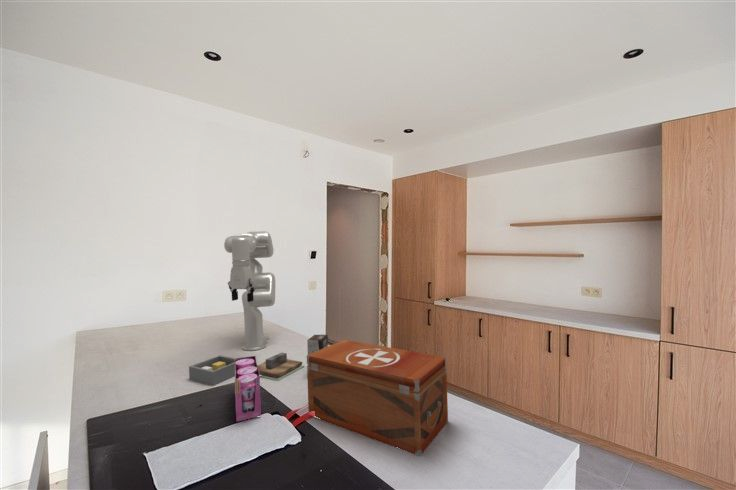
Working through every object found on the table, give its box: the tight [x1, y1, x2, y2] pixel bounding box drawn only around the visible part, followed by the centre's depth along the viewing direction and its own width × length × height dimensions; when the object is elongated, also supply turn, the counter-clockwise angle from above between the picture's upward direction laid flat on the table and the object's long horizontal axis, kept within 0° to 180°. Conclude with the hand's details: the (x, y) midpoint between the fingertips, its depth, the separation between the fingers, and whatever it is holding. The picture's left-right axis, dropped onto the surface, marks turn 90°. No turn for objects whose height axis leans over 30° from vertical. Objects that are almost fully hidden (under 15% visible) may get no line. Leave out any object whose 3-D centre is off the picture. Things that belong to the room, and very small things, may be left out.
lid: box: [257, 352, 303, 377], centre depth 150 cm, size 16×16×6 cm
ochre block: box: [212, 361, 226, 371], centre depth 148 cm, size 4×4×4 cm
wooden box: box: [306, 339, 449, 457], centre depth 107 cm, size 20×41×20 cm, turn 56°
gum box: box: [234, 355, 262, 422], centre depth 119 cm, size 24×8×14 cm, turn 22°
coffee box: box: [306, 334, 329, 355], centre depth 145 cm, size 9×6×16 cm
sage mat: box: [259, 364, 305, 382], centre depth 150 cm, size 17×17×1 cm
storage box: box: [188, 355, 237, 387], centre depth 144 cm, size 15×15×6 cm
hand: (242, 300), depth 157 cm, fingers open, 9 cm apart
